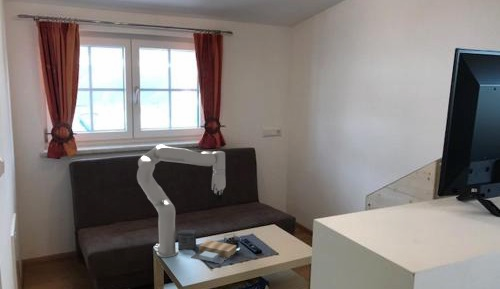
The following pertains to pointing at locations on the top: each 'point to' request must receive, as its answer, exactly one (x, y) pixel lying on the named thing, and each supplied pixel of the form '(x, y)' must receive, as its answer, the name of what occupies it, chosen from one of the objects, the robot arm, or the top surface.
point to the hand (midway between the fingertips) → (219, 200)
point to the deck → (218, 248)
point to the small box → (186, 239)
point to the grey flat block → (208, 256)
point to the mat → (218, 257)
